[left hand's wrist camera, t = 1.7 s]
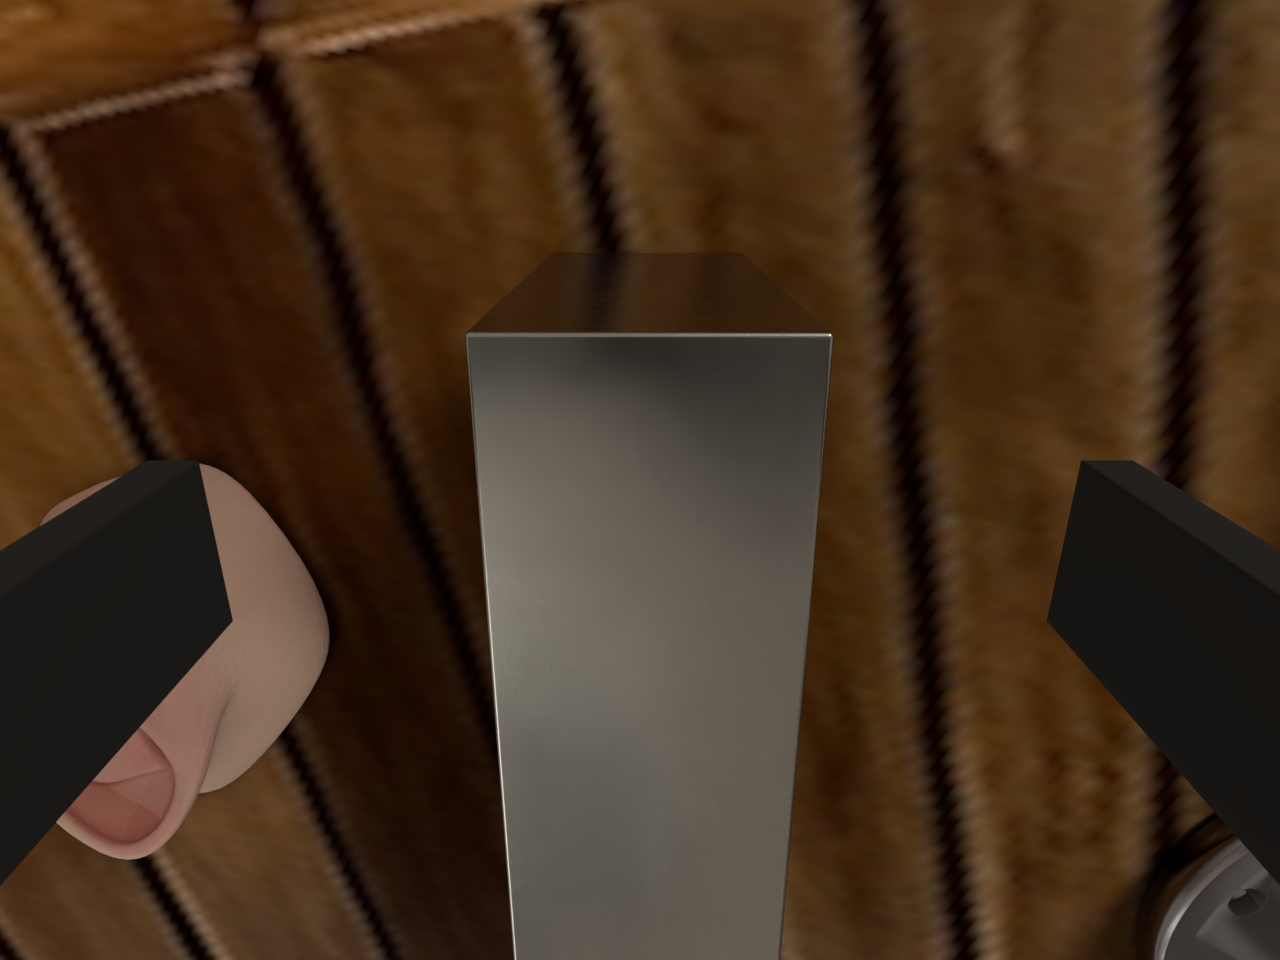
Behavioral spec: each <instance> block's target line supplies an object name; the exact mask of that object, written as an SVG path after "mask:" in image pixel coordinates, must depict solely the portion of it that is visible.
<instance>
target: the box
mask: <svg viewBox="0 0 1280 960" xmlns="http://www.w3.org/2000/svg"><path fill="white" fill-rule="evenodd" d="M833 340H834V336H833V333H832V332H831V331H830V330H828V329H827V328H826V327H825V326H824V325H823V324H822V323H821V322H819V321H818V320H817V319H816V318H815V317H814V316H813V315H811V314H810V313H809V312H808V311H807V310H806V309H805V308H803V307H802V306H801V305H800V304H799V303H798V302H797V301H796V300H794V299H793V298H792V297H791V296H790V295H789V294H788V293H786V292H785V291H784V290H783V289H782V288H781V287H780V286H779V285H777V284H776V283H775V282H774V281H773V280H772V279H771V278H769V277H768V276H767V275H766V274H765V273H764V272H763V271H761V270H760V269H759V268H758V267H757V266H756V265H755V264H754V263H752V262H751V261H750V260H749V259H748V258H747V257H746V256H744V255H743V254H741V253H553V254H551V255H550V256H549V257H548V258H547V259H546V260H544V261H543V262H542V263H541V264H540V265H539V266H538V267H537V268H536V269H535V270H534V271H533V272H531V273H530V274H529V275H528V276H527V277H526V278H525V279H524V280H523V281H522V282H521V283H520V284H518V285H517V286H516V287H515V288H514V289H513V290H512V291H511V292H510V293H509V294H508V295H507V296H505V297H504V298H503V299H502V300H501V301H500V302H499V303H498V304H497V305H496V306H495V307H494V308H492V309H491V310H490V311H489V312H488V313H487V314H486V315H485V316H484V317H483V318H482V319H481V320H479V321H478V322H477V323H476V324H475V325H474V326H473V327H472V328H471V329H470V330H469V331H468V332H466V335H465V343H466V356H467V369H468V382H469V394H470V407H471V420H472V433H473V446H474V458H475V471H476V484H477V497H478V510H479V522H480V535H481V548H482V561H483V573H484V586H485V599H486V612H487V625H488V637H489V650H490V663H491V676H492V689H493V701H494V714H495V727H496V740H497V753H498V765H499V778H500V791H501V804H502V817H503V829H504V842H505V855H506V868H507V881H508V893H509V906H510V919H511V932H512V945H513V957H514V960H780V955H781V943H782V931H783V920H784V908H785V897H786V885H787V873H788V862H789V850H790V839H791V827H792V815H793V804H794V792H795V781H796V769H797V757H798V746H799V734H800V723H801V711H802V699H803V688H804V676H805V665H806V653H807V641H808V630H809V618H810V607H811V595H812V583H813V572H814V560H815V548H816V537H817V525H818V514H819V502H820V490H821V479H822V467H823V456H824V444H825V432H826V421H827V409H828V398H829V386H830V374H831V363H832V351H833Z"/></svg>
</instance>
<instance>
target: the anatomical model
mask: <svg viewBox="0 0 1280 960" xmlns="http://www.w3.org/2000/svg"><path fill="white" fill-rule="evenodd" d="M200 469H201V474H202V478H203V483H204V488H205V492H206V497H207V502H208V506H209V511H210V516H211V520H212V525H213V530H214V534H215V539H216V544H217V548H218V553H219V558H220V562H221V567H222V572H223V576H224V581H225V586H226V590H227V595H228V600H229V604H230V609H231V614H232V618H233V622H232V623H231V624H230V625H229V626H228V627H227V628H226V630H225V631H224V632H223V633H222V634H221V635H220V636H219V638H218V639H217V640H216V641H215V642H214V643H213V644H212V645H211V647H210V648H209V649H208V650H207V651H206V652H205V653H204V655H203V656H202V657H201V658H200V659H199V660H198V661H197V663H196V664H195V665H194V666H193V667H192V668H191V669H190V670H189V672H188V673H187V674H186V675H185V676H184V677H183V678H182V680H181V681H180V682H179V683H178V684H177V685H176V686H175V688H174V689H173V690H172V691H171V692H170V693H169V694H168V696H167V697H166V698H165V699H164V700H163V701H162V702H161V703H160V705H159V706H158V707H157V708H156V709H155V710H154V711H153V713H152V714H151V715H150V716H149V717H148V718H147V719H146V721H145V722H144V723H143V724H142V725H141V726H140V727H139V728H138V730H137V731H136V732H135V733H134V734H133V735H132V736H131V738H130V739H129V740H128V741H127V742H126V743H125V744H124V746H123V747H122V748H121V749H120V750H119V751H118V752H117V753H116V755H115V756H114V757H113V758H112V759H111V760H110V761H109V763H108V764H107V765H106V766H105V767H104V768H103V769H102V771H101V772H100V773H99V774H98V775H97V776H96V777H95V778H94V780H93V781H92V782H91V783H90V784H89V785H88V786H87V788H86V789H85V790H84V791H83V792H82V793H81V794H80V796H79V797H78V798H77V799H76V800H75V801H74V802H73V803H72V805H71V806H70V807H69V808H68V809H67V810H66V811H65V813H64V814H63V815H62V816H61V817H60V818H59V819H58V821H57V822H56V823H58V824H59V825H60V826H61V827H62V828H63V829H65V830H66V831H67V832H68V833H70V834H71V835H73V836H74V837H76V838H77V839H78V840H80V841H81V842H83V843H84V844H86V845H88V846H90V847H92V848H93V849H95V850H97V851H99V852H100V853H103V854H106V855H108V856H111V857H114V858H119V859H128V860H129V859H138V858H141V857H144V856H147V855H149V854H151V853H153V852H154V851H156V850H157V849H159V848H160V847H161V846H162V845H163V844H165V843H166V842H167V841H168V840H169V839H170V838H171V837H172V835H173V834H174V833H175V832H176V831H177V829H178V828H179V826H180V825H181V824H182V822H183V821H184V819H185V818H186V816H187V814H188V813H189V811H190V809H191V807H192V806H193V804H194V802H195V800H196V798H197V795H198V793H206V792H210V791H214V790H217V789H220V788H222V787H224V786H226V785H227V784H229V783H231V782H232V781H234V780H236V779H237V778H238V777H239V776H240V775H242V774H243V773H244V772H245V771H246V770H248V769H249V768H250V767H251V766H252V765H253V764H254V763H255V762H256V761H257V760H258V759H259V758H260V757H261V756H262V755H263V754H264V753H265V751H266V750H267V749H268V748H269V747H270V746H271V745H272V743H273V742H274V741H275V740H276V739H277V737H278V736H279V735H280V734H281V732H282V731H283V730H284V729H285V727H286V726H287V725H288V724H289V722H290V721H291V720H292V718H293V717H294V716H295V714H296V713H297V711H298V710H299V709H300V707H301V706H302V704H303V703H304V701H305V700H306V698H307V697H308V695H309V694H310V692H311V690H312V688H313V687H314V685H315V683H316V681H317V679H318V677H319V675H320V674H321V671H322V669H323V666H324V664H325V661H326V657H327V653H328V648H329V626H328V620H327V615H326V612H325V608H324V605H323V602H322V600H321V597H320V595H319V593H318V590H317V588H316V586H315V583H314V581H313V579H312V578H311V576H310V574H309V572H308V570H307V569H306V567H305V565H304V563H303V562H302V560H301V558H300V557H299V555H298V554H297V553H296V551H295V550H294V548H293V547H292V545H291V544H290V542H289V541H288V539H287V538H286V537H285V535H284V534H283V532H282V531H281V530H280V529H279V527H278V526H277V525H276V523H275V522H274V521H273V520H272V518H271V517H270V516H269V514H268V513H267V512H266V511H265V510H264V508H263V507H262V506H261V505H260V504H259V503H258V502H257V501H256V500H255V499H254V497H253V496H252V495H251V494H250V493H249V492H248V491H247V490H246V489H245V488H244V487H243V486H242V485H241V484H239V483H238V482H237V481H236V480H234V479H233V478H231V477H230V476H229V475H227V474H226V473H224V472H222V471H220V470H218V469H216V468H214V467H211V466H208V465H204V464H200ZM118 478H120V477H117V478H114V479H111V480H108V481H105V482H102V483H99V484H97V485H95V486H93V487H91V488H89V489H86V490H84V491H82V492H80V493H78V494H76V495H74V496H72V497H70V498H68V499H66V500H64V501H62V502H60V503H59V504H57V505H56V506H55V507H54V508H52V509H51V510H50V511H49V512H48V513H47V514H46V516H45V517H44V519H43V520H42V523H41V525H43V524H45V523H46V522H48V521H49V520H51V519H53V518H54V517H56V516H58V515H59V514H61V513H62V512H64V511H66V510H67V509H69V508H71V507H72V506H74V505H76V504H77V503H79V502H80V501H82V500H84V499H85V498H87V497H89V496H90V495H92V494H93V493H95V492H97V491H98V490H100V489H102V488H103V487H105V486H107V485H108V484H110V483H111V482H113V481H115V480H116V479H118ZM41 525H40V526H41Z"/></svg>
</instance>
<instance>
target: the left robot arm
mask: <svg viewBox="0 0 1280 960" xmlns="http://www.w3.org/2000/svg"><path fill="white" fill-rule="evenodd" d="M232 622H233V618H232V614H231V609H230V604H229V600H228V595H227V590H226V586H225V581H224V576H223V572H222V567H221V562H220V558H219V553H218V548H217V544H216V539H215V534H214V530H213V525H212V520H211V516H210V511H209V506H208V502H207V497H206V492H205V488H204V483H203V478H202V474H201V469H200V464H199V461H146V462H144V463H142V464H141V465H139V466H138V467H136V468H134V469H133V470H131V471H129V472H128V473H126V474H124V475H123V476H121V477H120V478H118V479H116V480H115V481H113V482H111V483H110V484H108V485H107V486H105V487H103V488H102V489H100V490H98V491H97V492H95V493H93V494H92V495H90V496H89V497H87V498H85V499H84V500H82V501H80V502H79V503H77V504H76V505H74V506H72V507H71V508H69V509H67V510H66V511H64V512H62V513H61V514H59V515H58V516H56V517H54V518H53V519H51V520H49V521H48V522H46V523H45V524H43V525H41V526H40V527H38V528H36V529H35V530H33V531H32V532H30V533H28V534H27V535H25V536H23V537H22V538H20V539H18V540H17V541H15V542H14V543H12V544H10V545H9V546H7V547H5V548H4V549H2V550H1V551H0V885H1V884H2V883H3V882H4V881H5V880H6V879H7V877H8V876H9V875H10V874H11V873H12V872H13V871H14V869H15V868H16V867H17V866H18V865H19V864H20V863H21V861H22V860H23V859H24V858H25V857H26V856H27V855H28V854H29V852H30V851H31V850H32V849H33V848H34V847H35V846H36V844H37V843H38V842H39V841H40V840H41V839H42V838H43V836H44V835H45V834H46V833H47V832H48V831H49V830H50V829H51V827H52V826H53V825H54V824H55V823H56V822H57V821H58V819H59V818H60V817H61V816H62V815H63V814H64V813H65V811H66V810H67V809H68V808H69V807H70V806H71V805H72V803H73V802H74V801H75V800H76V799H77V798H78V797H79V796H80V794H81V793H82V792H83V791H84V790H85V789H86V788H87V786H88V785H89V784H90V783H91V782H92V781H93V780H94V778H95V777H96V776H97V775H98V774H99V773H100V772H101V771H102V769H103V768H104V767H105V766H106V765H107V764H108V763H109V761H110V760H111V759H112V758H113V757H114V756H115V755H116V753H117V752H118V751H119V750H120V749H121V748H122V747H123V746H124V744H125V743H126V742H127V741H128V740H129V739H130V738H131V736H132V735H133V734H134V733H135V732H136V731H137V730H138V728H139V727H140V726H141V725H142V724H143V723H144V722H145V721H146V719H147V718H148V717H149V716H150V715H151V714H152V713H153V711H154V710H155V709H156V708H157V707H158V706H159V705H160V703H161V702H162V701H163V700H164V699H165V698H166V697H167V696H168V694H169V693H170V692H171V691H172V690H173V689H174V688H175V686H176V685H177V684H178V683H179V682H180V681H181V680H182V678H183V677H184V676H185V675H186V674H187V673H188V672H189V670H190V669H191V668H192V667H193V666H194V665H195V664H196V663H197V661H198V660H199V659H200V658H201V657H202V656H203V655H204V653H205V652H206V651H207V650H208V649H209V648H210V647H211V645H212V644H213V643H214V642H215V641H216V640H217V639H218V638H219V636H220V635H221V634H222V633H223V632H224V631H225V630H226V628H227V627H228V626H229V625H230V624H231V623H232ZM1047 622H1048V623H1049V624H1050V625H1051V626H1052V627H1053V628H1054V630H1055V631H1056V632H1057V633H1058V634H1059V635H1060V636H1061V638H1062V639H1063V640H1064V641H1065V642H1066V643H1067V644H1068V645H1069V647H1070V648H1071V649H1072V650H1073V651H1074V652H1075V653H1076V655H1077V656H1078V657H1079V658H1080V659H1081V660H1082V661H1083V663H1084V664H1085V665H1086V666H1087V667H1088V668H1089V669H1090V670H1091V672H1092V673H1093V674H1094V675H1095V676H1096V677H1097V678H1098V680H1099V681H1100V682H1101V683H1102V684H1103V685H1104V686H1105V688H1106V689H1107V690H1108V691H1109V692H1110V693H1111V694H1112V696H1113V697H1114V698H1115V699H1116V700H1117V701H1118V702H1119V703H1120V705H1121V706H1122V707H1123V708H1124V709H1125V710H1126V711H1127V713H1128V714H1129V715H1130V716H1131V717H1132V718H1133V719H1134V721H1135V722H1136V723H1137V724H1138V725H1139V726H1140V727H1141V728H1142V730H1143V731H1144V732H1145V733H1146V734H1147V735H1148V736H1149V738H1150V739H1151V740H1152V741H1153V742H1154V743H1155V744H1156V746H1157V747H1158V748H1159V749H1160V750H1161V751H1162V752H1163V753H1164V755H1165V756H1166V757H1167V758H1168V759H1169V760H1170V761H1171V763H1172V764H1173V765H1174V766H1175V767H1176V768H1177V769H1178V771H1179V772H1180V773H1181V774H1182V775H1183V776H1184V777H1185V778H1186V780H1187V781H1188V782H1189V783H1190V784H1191V785H1192V786H1193V788H1194V789H1195V790H1196V791H1197V792H1198V793H1199V794H1200V796H1201V797H1202V798H1203V799H1204V800H1205V801H1206V802H1207V803H1208V805H1209V806H1210V807H1211V808H1212V809H1213V810H1214V811H1215V813H1216V814H1217V815H1218V817H1217V818H1215V819H1214V820H1212V821H1211V822H1210V823H1208V824H1207V825H1205V826H1204V827H1203V828H1201V829H1200V830H1199V831H1198V832H1197V833H1195V834H1194V835H1193V836H1192V837H1191V838H1190V839H1188V840H1187V841H1186V842H1185V843H1184V844H1183V845H1182V846H1181V847H1180V848H1179V849H1178V850H1177V851H1176V852H1175V853H1174V854H1173V856H1172V857H1171V858H1170V859H1169V860H1168V862H1167V863H1166V864H1165V865H1164V866H1163V868H1162V869H1161V871H1160V872H1159V874H1158V875H1157V877H1156V878H1155V880H1154V881H1153V883H1152V885H1151V887H1150V889H1149V890H1148V892H1147V894H1146V897H1145V899H1144V902H1143V904H1142V907H1141V910H1140V914H1139V917H1138V922H1137V929H1136V948H1137V955H1138V959H1139V960H1280V551H1279V550H1278V549H1276V548H1275V547H1273V546H1271V545H1270V544H1268V543H1266V542H1265V541H1263V540H1262V539H1260V538H1258V537H1257V536H1255V535H1253V534H1252V533H1250V532H1248V531H1247V530H1245V529H1244V528H1242V527H1240V526H1239V525H1237V524H1235V523H1234V522H1232V521H1231V520H1229V519H1227V518H1226V517H1224V516H1222V515H1221V514H1219V513H1218V512H1216V511H1214V510H1213V509H1211V508H1209V507H1208V506H1206V505H1204V504H1203V503H1201V502H1200V501H1198V500H1196V499H1195V498H1193V497H1191V496H1190V495H1188V494H1187V493H1185V492H1183V491H1182V490H1180V489H1178V488H1177V487H1175V486H1173V485H1172V484H1170V483H1169V482H1167V481H1165V480H1164V479H1162V478H1160V477H1159V476H1157V475H1156V474H1154V473H1152V472H1151V471H1149V470H1147V469H1146V468H1144V467H1142V466H1141V465H1139V464H1138V463H1136V462H1134V461H1081V464H1080V469H1079V474H1078V478H1077V483H1076V488H1075V492H1074V497H1073V502H1072V506H1071V511H1070V516H1069V520H1068V525H1067V530H1066V534H1065V539H1064V544H1063V548H1062V553H1061V558H1060V562H1059V567H1058V572H1057V576H1056V581H1055V586H1054V590H1053V595H1052V600H1051V604H1050V609H1049V614H1048V618H1047Z"/></svg>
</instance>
